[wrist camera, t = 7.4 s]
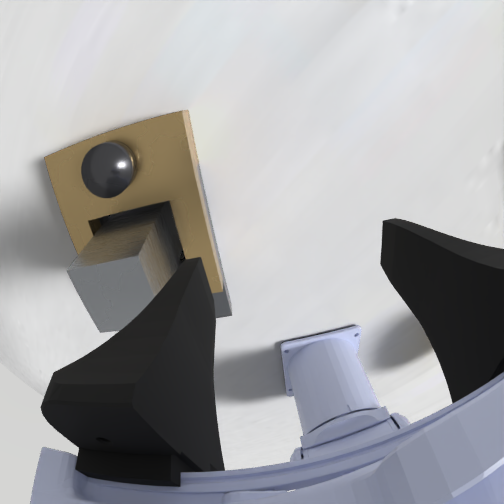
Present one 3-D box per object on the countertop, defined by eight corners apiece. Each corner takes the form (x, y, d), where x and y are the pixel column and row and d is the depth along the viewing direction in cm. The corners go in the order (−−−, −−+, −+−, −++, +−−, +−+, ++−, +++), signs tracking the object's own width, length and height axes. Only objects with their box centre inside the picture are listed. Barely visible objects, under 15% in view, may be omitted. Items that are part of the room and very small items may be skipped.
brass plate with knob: (231, 303, 23) (233, 340, 20) (130, 318, 23) (119, 353, 20) (188, 110, 16) (178, 111, 12) (66, 148, 16) (33, 161, 12)
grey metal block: (182, 248, 21) (166, 324, 14) (132, 258, 21) (100, 332, 14) (167, 196, 19) (138, 255, 12) (115, 209, 19) (66, 270, 12)
